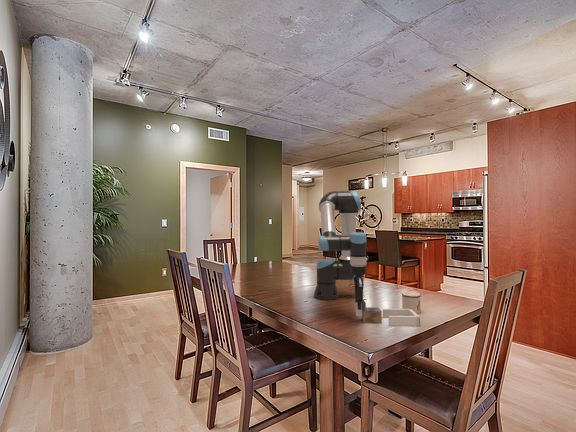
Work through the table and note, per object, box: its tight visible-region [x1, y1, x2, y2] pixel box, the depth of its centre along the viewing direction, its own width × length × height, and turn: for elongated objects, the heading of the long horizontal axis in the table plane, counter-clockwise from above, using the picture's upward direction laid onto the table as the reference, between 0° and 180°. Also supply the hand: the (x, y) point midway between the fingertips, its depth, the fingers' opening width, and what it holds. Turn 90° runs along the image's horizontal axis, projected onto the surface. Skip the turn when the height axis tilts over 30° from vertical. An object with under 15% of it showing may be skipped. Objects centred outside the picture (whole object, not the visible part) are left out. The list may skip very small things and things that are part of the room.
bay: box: [382, 308, 421, 327], centre depth 145 cm, size 14×12×4 cm
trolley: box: [361, 299, 383, 324], centre depth 146 cm, size 8×6×9 cm
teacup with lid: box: [401, 287, 421, 315], centre depth 161 cm, size 12×9×12 cm
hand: (359, 315), depth 146 cm, fingers closed
